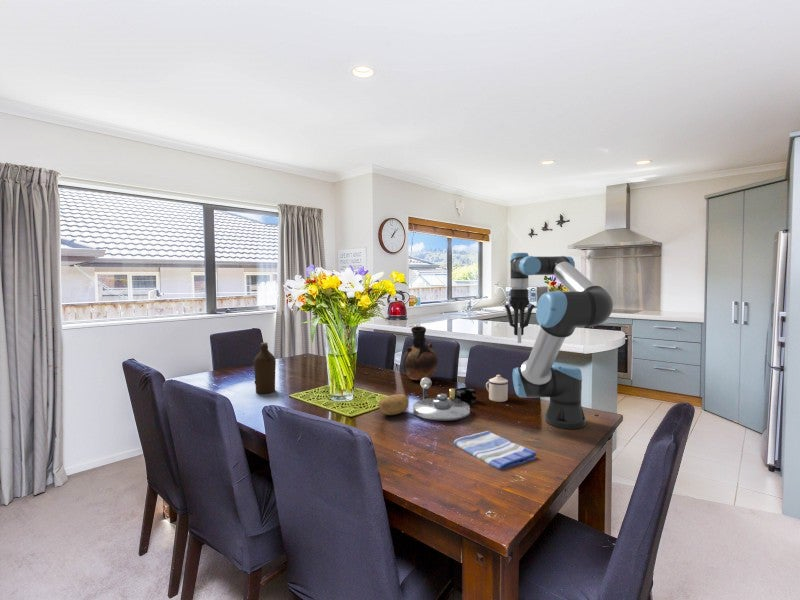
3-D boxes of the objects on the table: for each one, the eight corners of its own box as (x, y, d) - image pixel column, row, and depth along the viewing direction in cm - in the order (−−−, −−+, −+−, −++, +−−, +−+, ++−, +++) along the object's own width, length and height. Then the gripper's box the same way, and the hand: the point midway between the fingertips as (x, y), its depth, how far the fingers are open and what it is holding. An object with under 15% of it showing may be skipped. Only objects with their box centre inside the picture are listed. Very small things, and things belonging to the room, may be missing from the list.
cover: (454, 405, 180) (454, 394, 180) (445, 410, 174) (445, 398, 173) (438, 402, 185) (438, 391, 184) (429, 407, 178) (429, 395, 178)
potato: (373, 414, 180) (373, 395, 179) (400, 408, 187) (400, 390, 187) (385, 420, 171) (385, 401, 171) (413, 414, 179) (413, 395, 179)
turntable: (453, 424, 163) (453, 407, 162) (402, 413, 176) (402, 396, 176) (479, 408, 183) (479, 392, 182) (431, 399, 196) (431, 384, 196)
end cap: (467, 398, 201) (467, 384, 200) (477, 402, 195) (477, 388, 194) (450, 402, 196) (450, 387, 196) (459, 406, 190) (459, 391, 190)
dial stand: (431, 404, 192) (431, 377, 191) (421, 405, 191) (420, 378, 190) (429, 402, 196) (429, 375, 195) (418, 402, 195) (418, 376, 194)
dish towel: (489, 435, 156) (489, 428, 156) (538, 459, 136) (539, 451, 136) (451, 445, 148) (451, 437, 148) (498, 473, 127) (498, 463, 127)
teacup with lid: (512, 399, 199) (512, 375, 198) (499, 403, 193) (499, 378, 193) (492, 394, 208) (492, 370, 208) (479, 397, 203) (480, 373, 202)
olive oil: (280, 389, 218) (279, 341, 217) (267, 395, 208) (266, 345, 207) (263, 387, 222) (262, 340, 220) (250, 393, 212) (248, 344, 210)
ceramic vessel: (429, 374, 250) (429, 324, 248) (444, 381, 234) (444, 327, 232) (396, 378, 241) (396, 326, 239) (409, 385, 225) (409, 329, 223)
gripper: (531, 288, 186) (531, 341, 188) (502, 288, 186) (501, 341, 188) (537, 288, 179) (536, 344, 180) (506, 289, 179) (505, 344, 180)
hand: (518, 342), depth 184 cm, fingers closed
